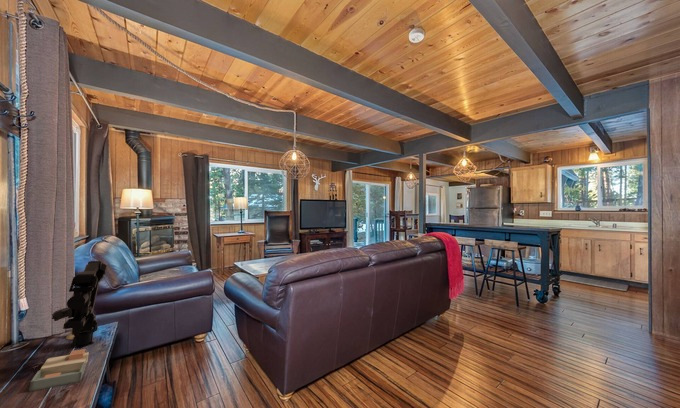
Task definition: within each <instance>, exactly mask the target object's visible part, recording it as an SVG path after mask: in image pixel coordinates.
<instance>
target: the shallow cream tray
mask: <svg viewBox="0 0 680 408" xmlns="http://www.w3.org/2000/svg"><path fill="white" fill-rule="evenodd" d="M89 354H90V351H88V352H86V351H85V354H84V356H83V358H80V359H74V360H69V355H70V354H67V355H59V356H55V357H54V356H53V357H48V358H47V359H46V361H45V362H44V363H43V365H42V366H41V368H40V370H41V375H40V378H43V377H45V375H49V374H54V373H60V372H61V374H65V373H71V372H77V371H80V370H81V367H82V365H83V363H86V365H87V363H88V360H89ZM86 365H85V367H86ZM40 370H39V371H40Z"/></svg>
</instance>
